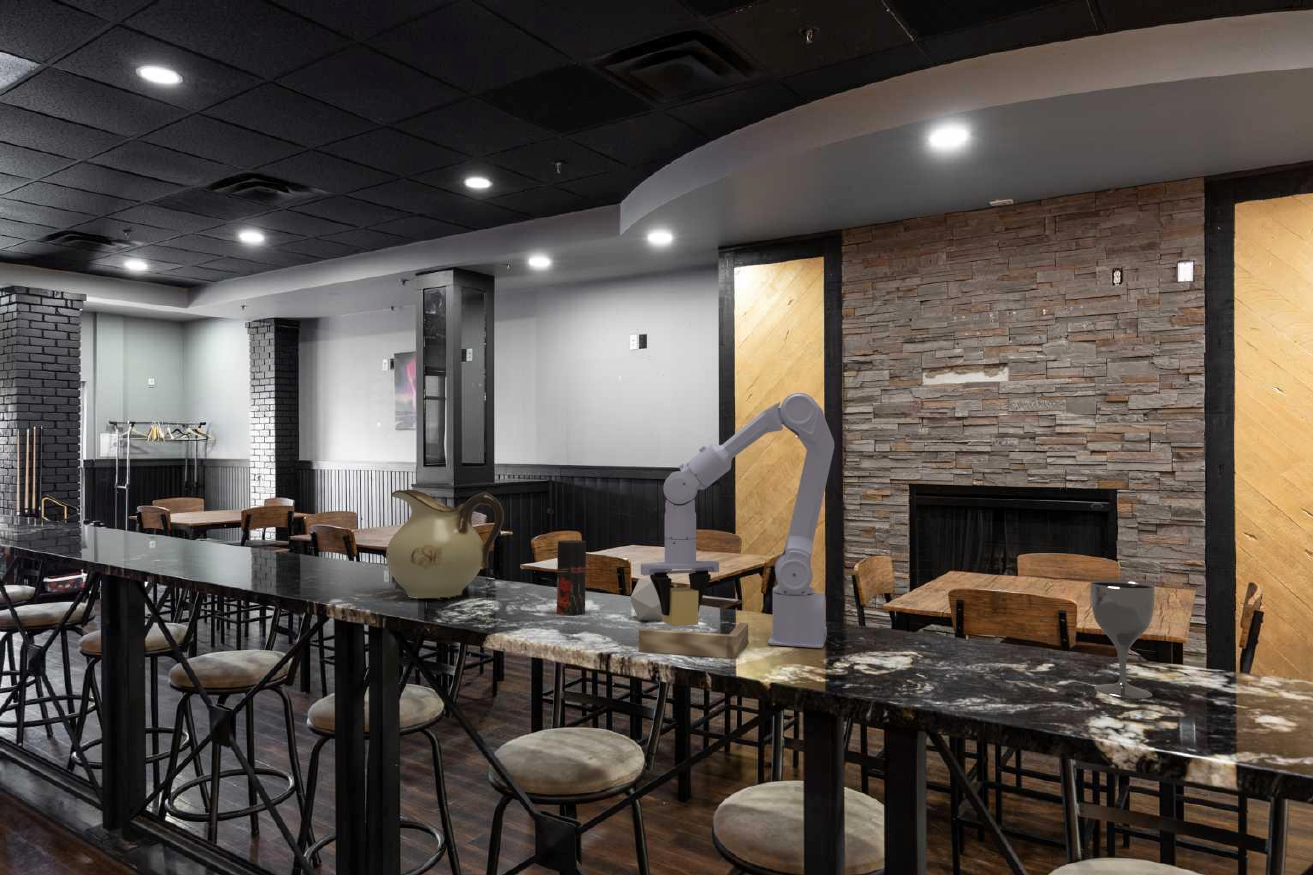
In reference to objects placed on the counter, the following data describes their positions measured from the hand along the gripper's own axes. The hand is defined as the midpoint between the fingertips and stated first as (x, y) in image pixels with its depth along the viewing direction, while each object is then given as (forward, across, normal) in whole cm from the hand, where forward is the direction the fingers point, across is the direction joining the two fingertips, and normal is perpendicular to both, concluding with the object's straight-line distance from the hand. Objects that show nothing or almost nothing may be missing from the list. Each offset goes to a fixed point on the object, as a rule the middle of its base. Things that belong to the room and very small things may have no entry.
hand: (680, 613), depth 148 cm
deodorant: (+4, +13, -31) cm, 34 cm away
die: (+5, -1, -20) cm, 20 cm away
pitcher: (+4, +38, -62) cm, 72 cm away
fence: (+4, +1, +8) cm, 9 cm away
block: (+2, 0, 0) cm, 2 cm away
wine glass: (+5, -47, +51) cm, 70 cm away
